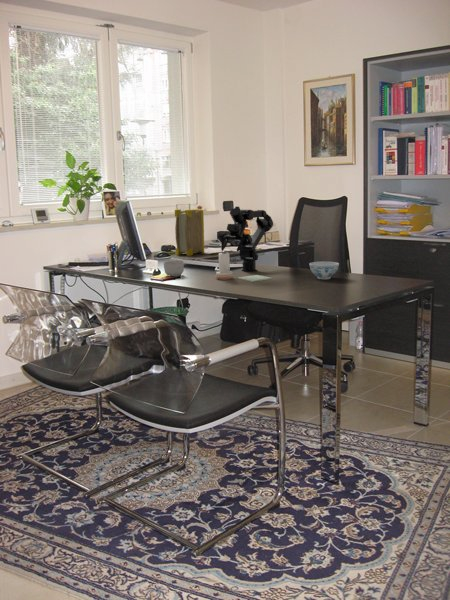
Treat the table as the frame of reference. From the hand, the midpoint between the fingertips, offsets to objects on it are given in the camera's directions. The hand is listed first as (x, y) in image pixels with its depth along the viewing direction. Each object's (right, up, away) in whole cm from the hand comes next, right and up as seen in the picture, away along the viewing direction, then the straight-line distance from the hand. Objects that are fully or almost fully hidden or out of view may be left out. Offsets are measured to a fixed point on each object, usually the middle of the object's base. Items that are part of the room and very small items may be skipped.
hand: (229, 250), depth 363 cm
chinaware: (+49, -15, -8) cm, 52 cm away
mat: (+13, -15, -6) cm, 21 cm away
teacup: (-30, -13, +11) cm, 34 cm away
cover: (-3, -12, -3) cm, 13 cm away
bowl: (-3, -15, -3) cm, 15 cm away
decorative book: (-26, +5, +99) cm, 102 cm away
